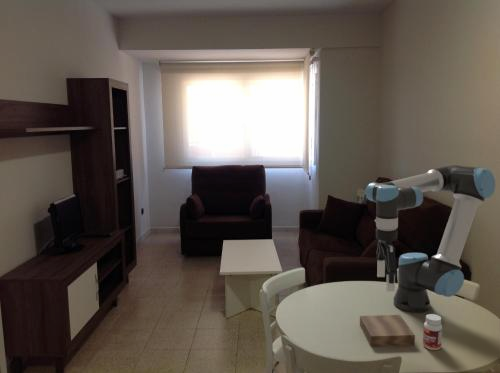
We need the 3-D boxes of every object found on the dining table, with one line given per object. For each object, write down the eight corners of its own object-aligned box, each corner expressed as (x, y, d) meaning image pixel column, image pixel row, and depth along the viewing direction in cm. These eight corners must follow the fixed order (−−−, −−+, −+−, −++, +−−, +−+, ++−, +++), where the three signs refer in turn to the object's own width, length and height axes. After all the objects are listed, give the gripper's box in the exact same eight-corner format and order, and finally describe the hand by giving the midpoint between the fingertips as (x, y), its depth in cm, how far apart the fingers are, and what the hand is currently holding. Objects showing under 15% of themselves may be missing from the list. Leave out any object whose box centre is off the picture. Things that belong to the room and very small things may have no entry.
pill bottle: (420, 347, 159) (421, 317, 157) (426, 340, 164) (427, 311, 162) (438, 352, 155) (439, 322, 153) (443, 345, 160) (445, 316, 158)
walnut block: (399, 324, 176) (399, 314, 176) (414, 345, 161) (414, 335, 160) (359, 325, 176) (359, 316, 176) (370, 346, 161) (370, 336, 160)
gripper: (368, 219, 172) (367, 271, 176) (385, 238, 147) (383, 297, 151) (388, 219, 171) (386, 271, 175) (407, 237, 147) (406, 297, 151)
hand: (385, 283), depth 163 cm, fingers open, 13 cm apart
